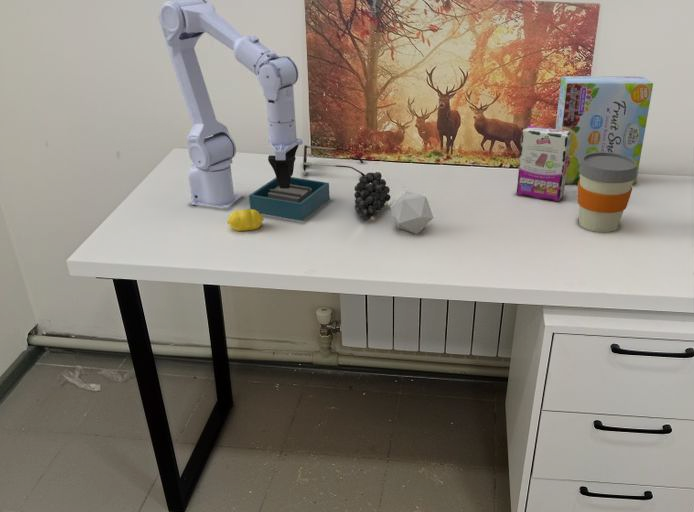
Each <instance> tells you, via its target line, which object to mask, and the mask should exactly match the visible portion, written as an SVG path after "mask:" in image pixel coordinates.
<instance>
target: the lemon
mask: <svg viewBox="0 0 694 512" xmlns="http://www.w3.org/2000/svg"><path fill="white" fill-rule="evenodd" d="M263 221H264V217H263V216H262V214H260V213H259V212H258V211H256V210H254V209H250V208H248V209H239V210H234V211H232V213H230V215H229V217H228V219H227V224H228V225H229V226H230V227H231V229H232V230H234V231H237V232H244V231H255V230H258V229H259V228H260V227H261V226H262V224H263Z"/></svg>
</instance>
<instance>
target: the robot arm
mask: <svg viewBox="0 0 694 512" xmlns="http://www.w3.org/2000/svg"><path fill="white" fill-rule="evenodd" d="M157 19H158V21H159V24H160V27H161V31H162V33H163V37H164V39H165V44H166V48H167V51H168V54H169V57H170V59H171V63H172V66H173V69H174V72H175V76H176V78H177V81H178V85H179V88H180V91H181V94H182V97H183V101H184V104H185V106H186V109H187V111H188V112H187V113H188V115H189V118H190V121H191V124H192V127H191V129H190V131H189V132H188V134H187V135H186V141H187V145H188V156H189V159H190V161H191V163H192V165H191V166H190V168H189V170H188V180H189V181H188V182H189V188H190V194H191V202H190V205H191V206H200V205H201V206H207V207H208V206H209V207H216V208H226V209H227V208H229V207H230V206H232V205H233V204H234V203H235V202H236V201H237V200H239V199H240V198H241V197H242V194H241V195H240V194H235V192H234V191H235V190H234V182H233V174H232V166H231V165H232V164H233V159H234V158H235V157H236V154H237V147H236V143H235V140H234V139H233V137H232V135H231V134H230V131H229V130H228V127H227V126H226V125H225V124H223V123H221V122H220V121H218V120H217V117H216V114H215V111H214V108H213V104H212V101H211V98H210V95H209V92H208V88H207V85H206V82H205V78H204V75H203V72H202V69H201V65H200V61H199V59H198V57H197V53H196V50H195V48H196V45H197V43H198V41H199V40H200V39H201V38H202V36H203V35H204V34H205V33H206V34H207V35H209V36H210V37H212V38H214V39H215V40H217V41H218V42H220V43H221V44H223V45H224V46H226V47H227V48H229V49H230V50H232V51H233V55H234V59H235V60H236V61H237V62H238V63H240V64H241V65H242V66H244V68H246V69H247V70H248V71H250V72H251V73H252V74H254V75H255V76H257V80H258V83H259V85H260V86H261V88H262V93H263V96H264V99H265V104H266V115H267V125H268V145H269V146H270V148H271V149H272V150H273V151H274V154H273V155H272V154H271V155H268V157H267V160H268V161H267V162H268V163H269V165H270V166H271V167H272V169H273V172H274V174H275V178H277V181H278V185H279V187H280V188H287V189H289V188H290V183H291V177H293V175H294V170H295V161H296V158H297V157H296V154H297V150H298V148H299V146H301V145H302V144H303V138H297V124H296V109H295V108H296V107H295V93H294V85H295V84H296V83H297V82H298V80H299V69H298V66H297V64H296V63H295V61H294V60H293V59H292V58H291V57H290V56H288V55H279V54H277V52H276V51H274V50H271V49H269V48H268V47H267V46H266V45H264V44H263V43H262V42H260V39H259V38H258V37H257V36H256V35H254V36H253V35H245V36H243V35H242V34H241V33H240V32H239V31H237V30H236V29H235V28H234V27H233V26H232V25H231V24H230V23H229V22H227V21H226V20H225V19H224V18H223V17H222V16H221V15H220V14H218V12H216V8H215V6H214V4H213V3H211V2H209V1H208V0H175V1H165V2H164V3H163V4H162V5H161V7H160V10H159V13H158V15H157Z"/></svg>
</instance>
